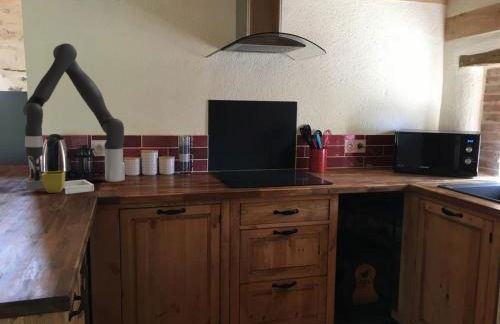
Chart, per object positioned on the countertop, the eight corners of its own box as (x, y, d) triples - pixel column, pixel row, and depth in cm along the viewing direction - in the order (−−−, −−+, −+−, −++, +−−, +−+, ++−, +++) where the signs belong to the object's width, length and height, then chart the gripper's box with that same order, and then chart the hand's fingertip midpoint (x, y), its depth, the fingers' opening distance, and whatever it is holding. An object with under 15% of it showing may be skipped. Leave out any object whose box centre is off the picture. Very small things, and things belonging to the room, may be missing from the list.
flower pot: (41, 194, 183) (40, 174, 181) (46, 190, 191) (45, 171, 190) (63, 193, 185) (62, 174, 184) (66, 189, 193) (65, 170, 192)
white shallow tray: (84, 185, 203) (84, 179, 203) (93, 190, 192) (93, 184, 191) (57, 188, 196) (57, 182, 195) (65, 193, 184) (65, 187, 184)
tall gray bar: (52, 186, 202) (52, 178, 201) (55, 187, 200) (55, 179, 199) (26, 189, 193) (26, 181, 193) (28, 190, 191) (28, 182, 190)
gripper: (46, 146, 189) (47, 181, 191) (39, 144, 200) (40, 176, 202) (28, 147, 184) (29, 182, 186) (22, 144, 196) (23, 177, 198)
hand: (35, 179), depth 194 cm, fingers open, 8 cm apart
